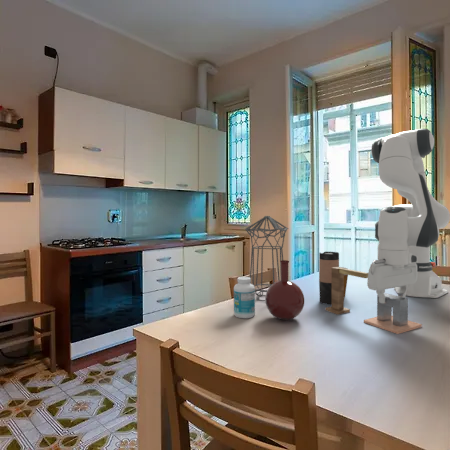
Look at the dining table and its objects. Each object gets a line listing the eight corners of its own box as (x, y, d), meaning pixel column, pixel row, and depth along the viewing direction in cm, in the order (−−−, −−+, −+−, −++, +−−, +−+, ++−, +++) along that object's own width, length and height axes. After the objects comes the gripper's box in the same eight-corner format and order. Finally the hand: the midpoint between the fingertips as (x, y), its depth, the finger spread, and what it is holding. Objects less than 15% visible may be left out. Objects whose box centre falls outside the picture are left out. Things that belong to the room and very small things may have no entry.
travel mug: (340, 305, 130) (340, 254, 129) (319, 304, 131) (319, 253, 130) (337, 300, 137) (337, 251, 136) (318, 299, 139) (318, 251, 138)
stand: (337, 307, 127) (337, 265, 126) (372, 319, 113) (372, 272, 112) (325, 310, 124) (325, 267, 123) (360, 322, 110) (360, 274, 109)
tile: (387, 316, 116) (387, 314, 116) (421, 326, 105) (421, 324, 105) (363, 322, 110) (363, 319, 110) (397, 334, 100) (397, 331, 100)
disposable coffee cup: (348, 294, 146) (348, 267, 146) (349, 300, 137) (349, 270, 137) (326, 292, 149) (326, 266, 149) (325, 298, 140) (325, 269, 140)
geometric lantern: (244, 301, 137) (243, 216, 136) (255, 293, 151) (254, 216, 151) (282, 304, 131) (281, 215, 130) (290, 296, 145) (289, 215, 145)
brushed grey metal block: (407, 324, 105) (408, 298, 105) (399, 326, 103) (400, 300, 103) (384, 317, 112) (385, 293, 112) (377, 319, 110) (377, 294, 110)
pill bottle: (232, 312, 122) (232, 276, 121) (253, 312, 123) (252, 275, 122) (235, 319, 115) (234, 280, 114) (256, 318, 115) (256, 279, 115)
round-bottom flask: (303, 313, 120) (303, 258, 119) (305, 326, 107) (305, 264, 106) (266, 312, 122) (266, 258, 121) (264, 324, 109) (264, 263, 108)
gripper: (380, 261, 99) (379, 308, 100) (421, 256, 109) (420, 298, 109) (362, 259, 105) (362, 303, 105) (403, 254, 114) (402, 294, 115)
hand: (392, 300), depth 107 cm, fingers open, 8 cm apart
